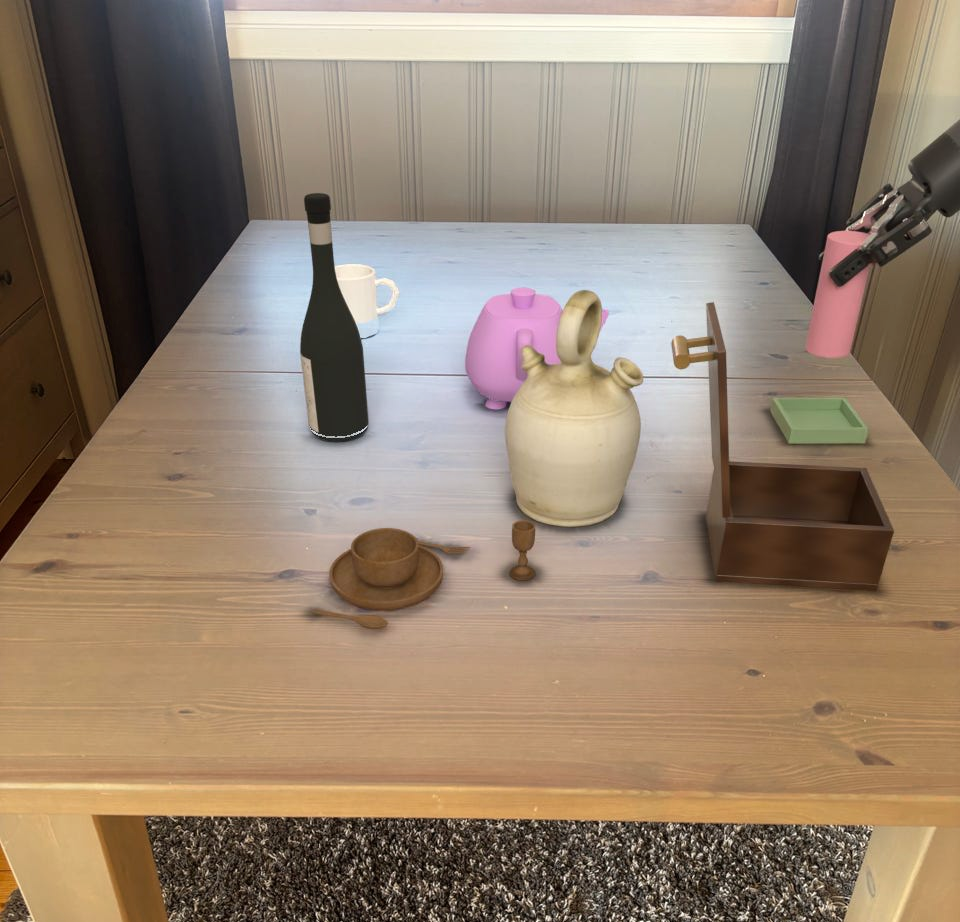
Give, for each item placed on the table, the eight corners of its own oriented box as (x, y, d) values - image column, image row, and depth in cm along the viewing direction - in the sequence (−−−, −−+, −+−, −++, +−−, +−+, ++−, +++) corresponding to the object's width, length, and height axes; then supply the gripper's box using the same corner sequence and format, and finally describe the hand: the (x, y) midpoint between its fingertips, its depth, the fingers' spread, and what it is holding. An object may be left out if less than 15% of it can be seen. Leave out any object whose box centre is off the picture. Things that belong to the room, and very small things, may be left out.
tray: (842, 411, 137) (845, 397, 136) (865, 443, 129) (869, 428, 128) (769, 411, 137) (772, 397, 136) (788, 443, 129) (791, 429, 128)
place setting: (374, 532, 111) (371, 486, 107) (540, 567, 105) (542, 519, 102) (297, 615, 98) (290, 566, 94) (481, 660, 92) (481, 610, 89)
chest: (851, 524, 112) (866, 467, 108) (876, 590, 102) (894, 530, 97) (705, 516, 114) (714, 460, 109) (715, 581, 103) (725, 521, 99)
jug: (658, 502, 116) (685, 291, 101) (573, 550, 108) (588, 327, 93) (563, 460, 125) (574, 260, 110) (477, 501, 117) (476, 290, 101)
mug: (396, 342, 159) (393, 281, 153) (325, 338, 160) (319, 277, 154) (406, 325, 165) (403, 265, 159) (337, 322, 166) (332, 262, 160)
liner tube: (839, 361, 114) (865, 246, 106) (797, 351, 117) (820, 238, 109) (857, 348, 117) (883, 235, 109) (816, 338, 120) (839, 228, 112)
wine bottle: (302, 442, 129) (272, 202, 111) (319, 417, 136) (294, 186, 117) (361, 447, 128) (340, 204, 110) (375, 421, 135) (358, 188, 116)
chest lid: (714, 301, 99) (668, 308, 100) (726, 350, 88) (674, 357, 89) (719, 456, 109) (677, 460, 110) (730, 517, 98) (684, 521, 99)
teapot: (611, 428, 133) (620, 318, 124) (464, 428, 133) (463, 319, 124) (596, 372, 148) (603, 271, 139) (465, 372, 148) (464, 271, 139)
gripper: (929, 118, 107) (797, 230, 116) (970, 145, 96) (821, 267, 104) (964, 170, 110) (833, 276, 118) (1008, 203, 99) (860, 317, 107)
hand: (828, 271), depth 111 cm, fingers closed on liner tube, 5 cm apart
